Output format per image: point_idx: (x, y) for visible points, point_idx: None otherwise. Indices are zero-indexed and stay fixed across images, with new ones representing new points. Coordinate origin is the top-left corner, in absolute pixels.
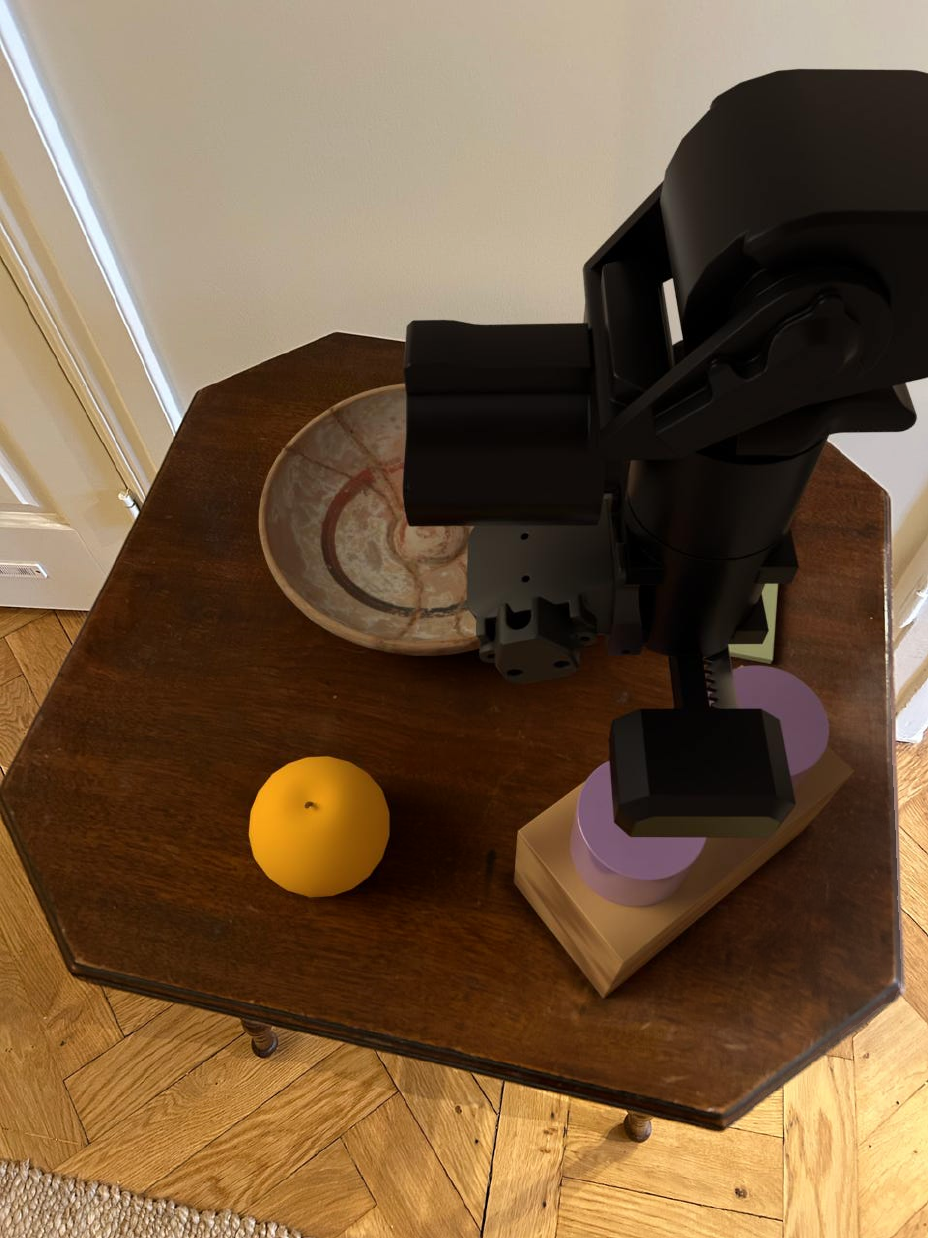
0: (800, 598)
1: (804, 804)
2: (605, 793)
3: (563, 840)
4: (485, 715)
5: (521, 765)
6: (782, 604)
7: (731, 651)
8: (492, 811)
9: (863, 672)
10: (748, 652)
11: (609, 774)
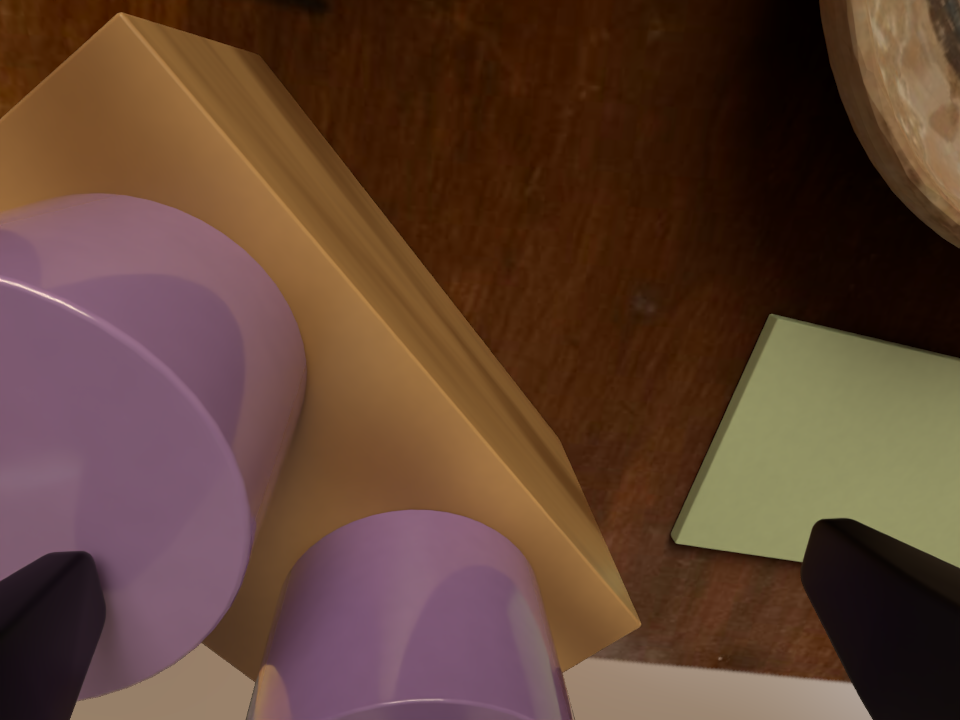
0: (773, 582)
1: None
2: (31, 389)
3: (118, 173)
4: (642, 5)
5: (519, 87)
6: (769, 559)
7: (701, 489)
8: (415, 11)
9: (636, 641)
10: (694, 513)
11: (132, 409)
